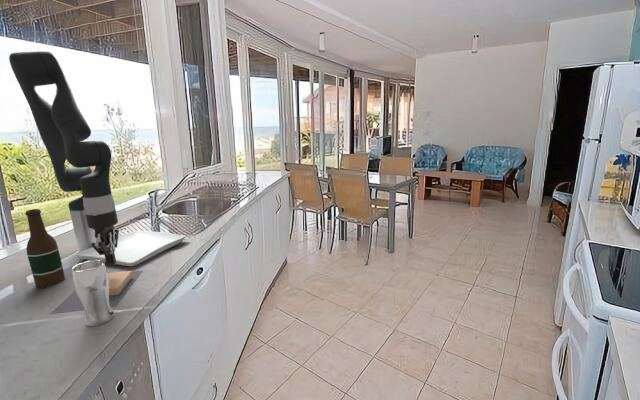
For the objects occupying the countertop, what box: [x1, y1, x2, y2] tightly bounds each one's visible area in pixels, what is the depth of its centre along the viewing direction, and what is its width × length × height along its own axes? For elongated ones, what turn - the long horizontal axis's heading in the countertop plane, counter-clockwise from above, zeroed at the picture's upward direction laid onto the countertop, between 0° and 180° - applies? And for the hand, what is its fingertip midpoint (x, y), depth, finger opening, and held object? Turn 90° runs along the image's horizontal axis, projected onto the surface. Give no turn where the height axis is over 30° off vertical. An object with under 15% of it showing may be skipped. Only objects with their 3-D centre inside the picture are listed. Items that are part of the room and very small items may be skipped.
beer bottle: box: [25, 208, 66, 289], centre depth 101 cm, size 8×8×24 cm
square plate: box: [75, 229, 187, 267], centre depth 127 cm, size 27×27×4 cm
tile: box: [107, 270, 133, 296], centre depth 98 cm, size 2×9×11 cm
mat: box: [49, 269, 144, 315], centre depth 98 cm, size 22×16×1 cm
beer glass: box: [71, 260, 115, 327], centre depth 82 cm, size 7×7×15 cm
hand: (111, 264), depth 100 cm, fingers closed
